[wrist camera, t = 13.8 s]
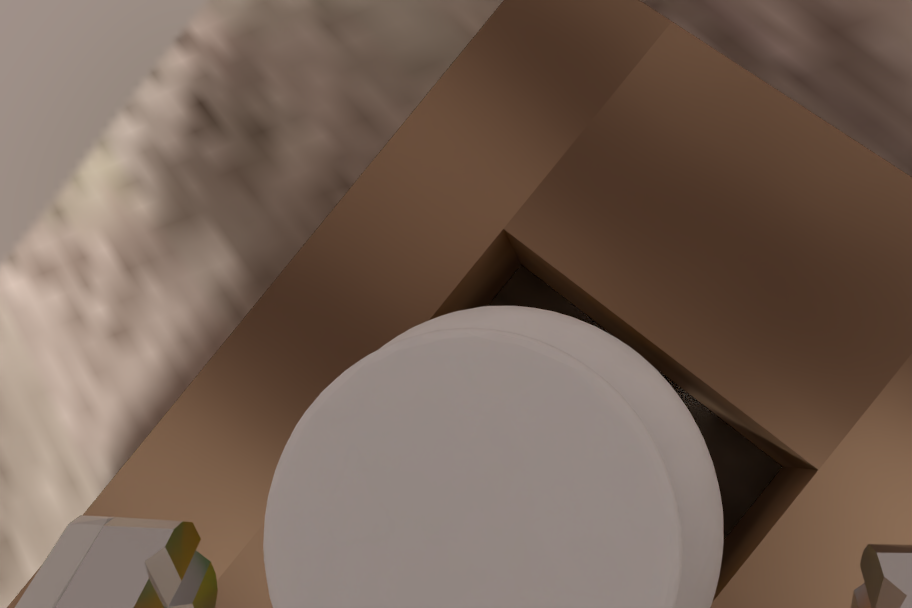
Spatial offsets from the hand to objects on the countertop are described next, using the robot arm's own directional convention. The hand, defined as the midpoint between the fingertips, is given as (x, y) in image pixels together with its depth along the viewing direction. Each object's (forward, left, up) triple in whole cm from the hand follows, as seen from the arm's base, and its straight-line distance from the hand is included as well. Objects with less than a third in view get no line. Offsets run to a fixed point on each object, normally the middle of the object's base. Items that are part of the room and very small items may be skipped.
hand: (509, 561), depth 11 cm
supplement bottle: (0, -1, -7) cm, 7 cm away
